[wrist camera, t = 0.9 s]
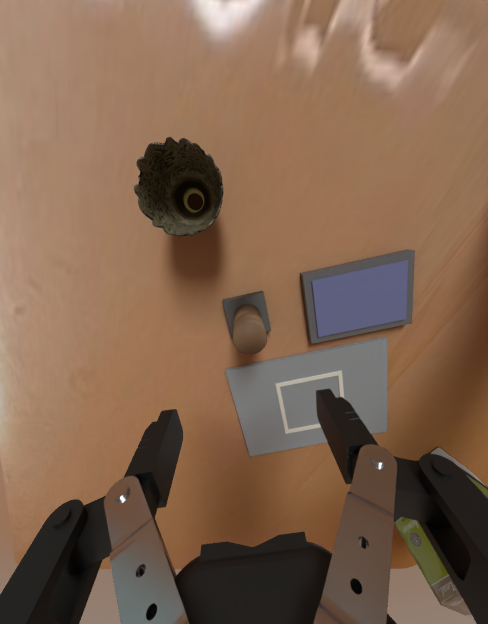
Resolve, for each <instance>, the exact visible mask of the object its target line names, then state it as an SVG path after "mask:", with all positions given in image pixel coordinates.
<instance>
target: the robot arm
mask: <svg viewBox="0 0 488 624" xmlns="http://www.w3.org/2000/svg"><path fill="white" fill-rule="evenodd" d="M316 408H317V417H318V421H319V423H320V426H321V428H322V430H323V433H324V435H325V437H326V439H327V442H328V444H329V446H330V449H331V451H332V453H333V455H334V458H335V460H336V462H337V464H338V467H339V469H340V471H341V474H342V476H343V478H344V480H345V483H346V484H351V488H350V492H348V493H347V496H346V500H345V504H344V508H343V512H342V516H341V520H340V524H339V528H338V533H337V537H336V541H335V545H334V549H333V553H330V552H329V551H328V550H326V549H325V548H323V547H321V546H319V545H317V544H314V543H312V542H307V541H306V537H305V533H304V532H298V533H290V534H283V535H278V536H276V537H274V538H272V539H270V540H268V541H266V542H264V543H262V544H260V545H258V546H255V547H248V546H244V545H239V544H235V543H230V542H220V543H213V544H205V545H201V554H200V556H198V557H197V558H195V559H194V560H192V561H191V562H190V563H188V564H187V565H186V566H185V567H184V568H183V569H182V570H181V571H180V572H179V573H178V575H176V573H175V570H174V567H173V565H172V562H171V560H170V557H169V555H168V552H167V549H166V547H165V544H164V541H163V538H162V536H161V533H160V530H159V528H158V525H157V522H156V520H155V515H156V511H157V508H162V507H166V504H167V500H168V496H169V492H170V488H171V484H172V481H173V477H174V473H175V469H176V465H177V461H178V457H179V453H180V449H181V445H182V441H183V429H182V426H181V423H180V419H179V416H178V413H177V410H176V409H172V410H165V411H162V412H161V413H160V416H159V418H158V421H157V422H152V423H151V424H150V426H149V427H148V428H147V429H146V430H145V432H144V434H143V437H142V439H141V441H140V443H139V445H138V448H137V450H136V452H135V454H134V456H133V458H132V461H131V463H130V465H129V467H128V469H127V472H126V474H125V476H124V478H122V479H121V480H119V481H118V482H116V483H115V484H114V485H113V486H112V487H111V488H110V490H109V491H108V493H107V494H106V496H104V497H102V498H100V499H98V500H95V501H93V502H91V503H89V504H87V505H83V503H82V502H81V501H80V500H76V499H75V500H70V501H68V502H66V503H64V504H62V505H61V506H60V507H58V508H57V509H56V510H55V511H54V512H53V513H52V514H51V515H50V516H49V517H48V518H47V520H46V521H45V523H44V524H43V526H42V528H41V529H40V531H39V533H38V534H37V536H36V537H35V539H34V541H33V542H32V544H31V546H30V547H29V549H28V550H27V552H26V554H25V555H24V557H23V559H22V560H21V562H20V563H19V565H18V567H17V568H16V570H15V572H14V573H13V575H12V577H11V578H10V580H9V581H8V583H7V585H6V586H5V588H4V589H3V591H2V593H1V594H0V624H79V622H80V620H81V617H82V614H83V611H84V609H85V606H86V603H87V600H88V597H89V595H90V592H91V590H92V587H93V584H94V581H95V579H96V576H97V573H98V570H99V568H100V565H101V562H102V560H103V559H104V558H106V557H108V556H110V563H111V569H112V575H113V580H114V586H115V592H116V597H117V604H118V609H119V615H120V621H121V624H396V623H395V621H394V620H393V619H392V618H391V617H390V616H389V615H388V614H387V607H388V593H389V580H390V566H391V553H392V539H393V526H394V515H396V516H400V517H404V518H408V519H412V520H416V521H418V522H419V524H420V526H421V527H422V529H423V531H424V533H425V534H426V536H427V538H428V540H429V541H430V543H431V545H432V547H433V548H434V550H435V552H436V553H437V555H438V557H439V559H440V560H441V562H442V564H443V566H444V567H445V569H446V571H447V573H448V574H449V576H450V578H451V579H452V581H453V583H454V585H455V586H456V588H457V590H458V592H459V593H460V595H461V597H462V599H463V600H464V602H465V604H466V605H467V607H468V609H469V611H470V612H471V614H472V616H473V618H474V619H475V621H476V623H477V624H488V499H487V498H486V497H485V496H484V495H483V493H482V492H481V491H480V490H479V489H478V488H477V487H476V485H475V484H474V483H473V482H472V481H471V480H470V479H469V478H468V476H467V475H466V474H465V473H464V472H463V471H462V470H461V469H460V468H459V467H458V466H457V465H456V464H455V463H454V462H452V461H451V460H449V459H447V458H445V457H443V456H440V455H437V454H425V455H423V456H422V457H421V458H420V461H419V462H418V461H412V460H407V459H401V458H397V457H395V456H393V455H392V454H391V453H390V452H389V451H388V450H386V449H385V448H383V447H381V446H379V445H378V444H377V442H376V441H375V439H374V438H373V436H372V435H371V433H370V432H369V430H368V429H367V427H366V426H365V424H364V423H363V422H362V420H361V419H360V417H359V416H358V414H357V413H356V412H355V410H354V408H353V407H352V405H351V404H350V403H349V402H348V401H347V400H345V399H344V398H343V397H337V398H336V397H335V395H334V394H333V392H332V390H331V389H322V390H316Z"/></svg>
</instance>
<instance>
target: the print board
mask: <svg viewBox="0 0 488 624" xmlns="http://www.w3.org/2000/svg"><path fill="white" fill-rule="evenodd" d="M225 372H226V375H227V379H228V382H229V386H230V389H231V393H232V396H233V399H234V403H235V406H236V410H237V413H238V417H239V420H240V424H241V427H242V431H243V434H244V438H245V441H246V445H247V448H248V451H249V455H250V457H251V456H256V455H262V454H267V453H272V452H278V451H283V450H289V449H294V448H299V447H305V446H310V445H316V444H321V443H326V442H327V439H326V437H325V435H324V433H323V430H322V428H321V426H320V423H319V421H318V417H317V408H316V390H322V389H331V390H332V392H333V394H334V395H335V397H336V398H337V397H343V398H344V399H345V400H347V401H348V402H349V403H350V404H351V405H352V407H353V408H354V410H355V412H356V413H357V414H358V416H359V417H360V419H361V420H362V422H363V423H364V424H365V426H366V427H367V429H368V430H369V432H370V433H371V434H375V433H380V432H386V431H387V338H386V337H381V338H376V339H371V340H366V341H361V342H357V343H352V344H347V345H342V346H337V347H332V348H327V349H322V350H317V351H312V352H308V353H303V354H298V355H293V356H288V357H283V358H278V359H273V360H268V361H263V362H259V363H254V364H249V365H244V366H239V367H234V368H229V369H226V371H225Z"/></svg>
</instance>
